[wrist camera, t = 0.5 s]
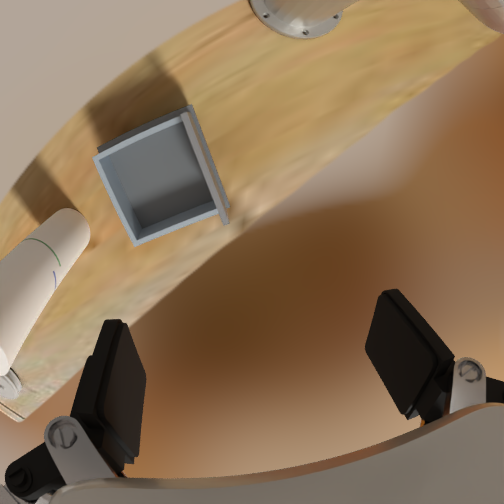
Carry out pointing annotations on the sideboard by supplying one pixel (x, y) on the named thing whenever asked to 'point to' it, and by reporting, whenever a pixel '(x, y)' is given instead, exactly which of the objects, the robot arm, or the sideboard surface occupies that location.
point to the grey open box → (162, 176)
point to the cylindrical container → (36, 276)
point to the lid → (9, 385)
